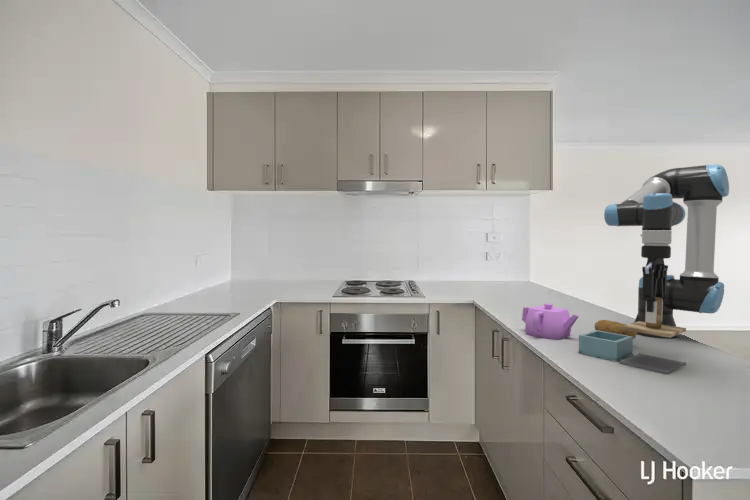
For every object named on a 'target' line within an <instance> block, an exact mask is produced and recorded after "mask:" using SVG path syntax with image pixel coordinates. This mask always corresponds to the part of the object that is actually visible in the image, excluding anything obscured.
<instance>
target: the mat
mask: <svg viewBox="0 0 750 500" xmlns="http://www.w3.org/2000/svg"><path fill="white" fill-rule="evenodd" d="M619 364H620V365H626V366H629V367H633V368H637V367H638V369H643V370H646V369H647V370H646V371H652V372H655V373H659V374H660V373H661V374H664V375H669V374H671V373H674V372H675V371H677V370H679V369H680V368H683V367H684V366H686V365H687V362H686V361H681V360H676V359H672V358H671V359H670V358H665V357H660V356H655V355H650V354H646V353H640V352H639V353H636V354H633V355H631V356H628V357H626V358H624V359H621V360H619Z"/></svg>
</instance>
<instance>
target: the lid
mask: <svg viewBox="0 0 750 500" xmlns="http://www.w3.org/2000/svg"><path fill="white" fill-rule="evenodd" d="M655 301H656V302H657V315H656V323H648V322H642V321H638V322H634V321H633V322H632V323H628V324H626V325H624V326H622V330H627V331H633V332H639V333H645V334H651V335H657V336H663V337H669V338H668V339H671V338H670V337H673V336H675V335H678V336H679V335H680V334H682V333H685V332H687V327H681V326H676V327H675V326H668V325H662V324H661V323H662V298H659V297H656V300H655Z"/></svg>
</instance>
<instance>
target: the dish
mask: <svg viewBox="0 0 750 500" xmlns="http://www.w3.org/2000/svg"><path fill="white" fill-rule="evenodd" d="M633 351H634V339H633V337H632V336H627V335H621V334H615V333H609V332H604V331H598V330H595V329H594V330H592V331H590V332H585V333H582V334H579V335H578V354H582V355H586V356H590V357H595V358H600V359H604V360H608V361H613V362H620V361H622V360H624V359H627V358H629V357H631V356H634V353H633ZM630 355H631V356H630Z"/></svg>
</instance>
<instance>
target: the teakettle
mask: <svg viewBox="0 0 750 500" xmlns="http://www.w3.org/2000/svg"><path fill="white" fill-rule="evenodd" d="M579 317H580V316H579V315H576V314H572V315H571V317H570V312H569V309H567V308H561V307H556V306H555V307H554V306H553V303H549V302H548V303H546V302H545V303H543V305H537V306H532V307H531V306H530V307H529V306H523V307H522V316H521V321H522V322H524V323H525V327H524V329H525V330H524V331H525V333H526V335H529V336H533V337H538V338H543V339H549V340H553V341H554V340H557V341H558V340H562V339H565V338H568V337H570V335H571V331H572V327H573V326H574V324H575V323H576V321H577V320H578V318H579Z"/></svg>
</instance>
